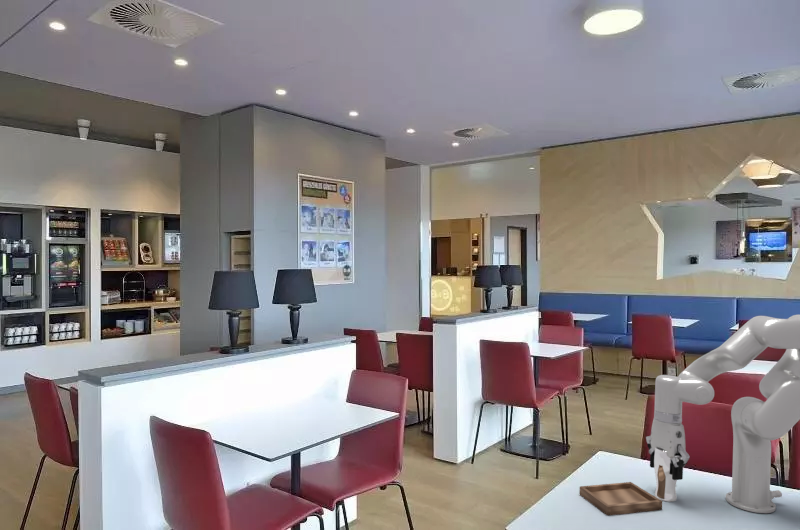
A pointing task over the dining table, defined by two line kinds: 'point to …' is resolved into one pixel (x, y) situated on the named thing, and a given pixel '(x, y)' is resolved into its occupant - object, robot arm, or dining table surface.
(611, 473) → the dining table surface
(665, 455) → the beer glass
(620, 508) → the walnut tray
